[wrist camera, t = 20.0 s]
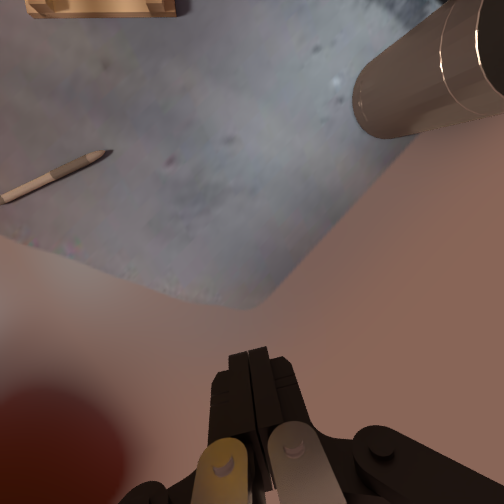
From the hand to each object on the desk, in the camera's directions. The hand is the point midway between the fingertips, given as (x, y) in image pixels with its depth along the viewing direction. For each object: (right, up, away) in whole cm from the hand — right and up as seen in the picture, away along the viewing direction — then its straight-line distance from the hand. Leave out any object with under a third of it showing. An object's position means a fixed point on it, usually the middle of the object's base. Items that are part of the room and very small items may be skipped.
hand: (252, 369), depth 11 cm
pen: (-23, +13, +22) cm, 34 cm away
